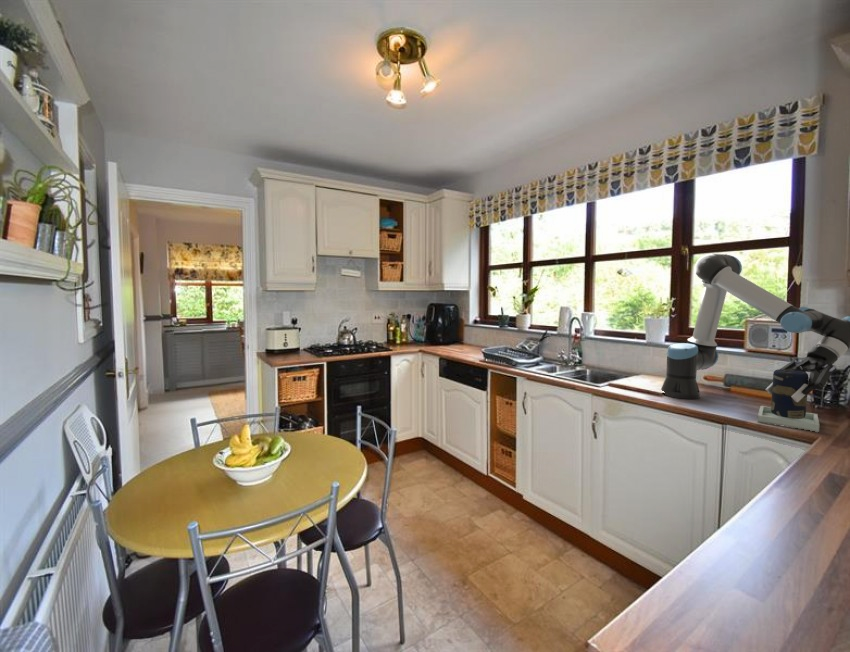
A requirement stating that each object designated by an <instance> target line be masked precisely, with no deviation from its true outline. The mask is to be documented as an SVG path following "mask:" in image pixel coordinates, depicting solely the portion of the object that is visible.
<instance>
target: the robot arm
mask: <svg viewBox="0 0 850 652" xmlns="http://www.w3.org/2000/svg"><path fill="white" fill-rule="evenodd" d="M742 269H743V265H742V263H741V261H740V260H739V258H738V257H736V256H733V255H731V254H721V253H720V254H718V253H709V254H704V255H703V256H700V258H699V259H697V260H696V263H695V265H694V272H695V274H696V276H697V277H698V278H699V279H700V280H701V284H702V285H703V287H704V288H703V292H702V295H701V300H700V303H699V308H698V311H697V312H698V313H697V315H696V316H697V317H696V321H695V324H694V329H693V333H692V336H691V337H689V338H687V341H686V343H685V342H681V343H674V344H670V345H669V346H668V347H667V352H666V372H665V373H666V374H665V379H664V381H663V383H662V385H661V389H660V391H661V390H662V391H664V392H665V395H664V396H666V395H667V397H669V398H670V397H672V398H675V399H682V400H683V399H685V400H694V399H695V400H696V399H700V397H701V391H700V388H699V385H698V382H697V373H698V372H697V371H700V370H701V371H702V370H707V369H710V368H711V367H713V366H714V365H716V364H717V362H718V360H719V352H718V351H717V347H718V344H717V342H716V341H715V338H716V335H717V331H718V327H719V323H720V319H721V315H722V312H723V309H724V304H725V300H726V297H727V293H729V294H730V295H733V297H736V298H737V299H738V300H741V301H742V302H743V303H745V304H747V305H748V306H750V307H752V308H754V309H755V310H757V311H758V312H760V313H762V314H764V315H765V316H767V317H768V318H769V319H772V320H774V322H777V323H778V324H780V326H781V328H782V329H783V330H784V331H786V332H788V333H792V334H793V333H795V334H797V333H798V334H800V333H801V334H802V333H806V332H812V333H815V334H818V335H820V336H823V337H822V338H821V339H820V340H819V341H817V343H816V344H815V345H814V346H813V347H812V348H811V349H810V350H808V352H807V353H806V357H805V358H803V359H798V357H793V359H792V360H791V361H789V362H788V363H787V364H785V365H784V366H782V367H781V368H780V369H790V368H793V369H796V370H798V371H803V372H806V373H807V372H809V373H810V374H809V376H808V383H807V384H808V385H807V384H804V385H803V386H802V387H801V388H799V389H798V390H797V391H796V392H795V393H794V394H793V395H792V396H791V397H792V398H793V399H794V400H795V402H799V401H800V400H801V399H802V398H803V397H804V396H805V395H807V396H808V395H809V394H810V393H811V392H812V391H814V390H816V389H818V390H823V389H824V387H825V386H826V384H827V382H828V381H829V379H830V377H831V376H832V375H833V373H834V372H836V371H837V368H836V367H835V366H834V365H833V364H835V363H836V362H837V361H838V359H839V358H841V357H842V356H843V355H844V354H845V353H846V352H847V351H849V349H850V316H849V315H848V316H844V317H843V318H841V319H840V318H838V317H834V316H831V315H829V314H826V313H823V312H821V311H818V310H816V309H813V308H810V307H806V306H800V307H799V308H798V307H796V306H794V305H793V304H792V303H789V302H788V301H786V300H784V299H782V298H781V297H779V296H777V295H775V294H774V293H772V292H770V291H769V290H767V289H765V288H763V287H761V286H760V285H758V284H756V283H754V282H752V281H751V280H749V279H747V278H745V277H743V276H742V275H741V274H742ZM790 370H792V369H790ZM772 388H773V380H772V381H771V382H770V384H769V385H768V386H767V387H766V388H765V391H766V392H767V393H768V394H769V395H771V396H772Z"/></svg>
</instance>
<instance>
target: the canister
mask: <svg viewBox="0 0 850 652" xmlns="http://www.w3.org/2000/svg"><path fill="white" fill-rule="evenodd" d="M790 369H792V370H790ZM790 369H781V368H779V369H774V371H773V374H772V381H773V388H772V395H771V404H770V407H771V412H772V413H773V414H775V415H777V416H781V417H785V418H792V419H802V418H804V417H805V415H806V413H807V404H808V395H805V396H804V397H803V398H802V399H801V400H800V401H799V402H795V400H794V399H793V398H792V397H791V396H792V395H793V394H794V393H795V392H796V391H797V390H798V389H799V388H801V387H802V386H803V385H804V384H807V383H808V381H809V374H808V373H807V372H803V371H798V370H796V369H793V368H790ZM807 385H808V384H807Z"/></svg>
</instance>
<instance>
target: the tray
mask: <svg viewBox="0 0 850 652" xmlns="http://www.w3.org/2000/svg"><path fill="white" fill-rule="evenodd" d="M759 407H760V408H759V410H758V413H757V423H760V422H763V423H762V424H765V423H769V424H768V425H771V424H776V425H775V426H777V425H784V426H788V427H787V428H789V427H793V428H792V429H795V428H798V429H797V430H801V429H804V430H803V431H806V430H810V431H809V432H812V431H815V432H814V433H818V432H819V433H820V421H819V417H818V415H819V414H818V413H813V412H812V413H811V412H806V415H805V417H804V418H802V419H792V418H785V417H781V416H777V415H775V414H773V413H772V412H771V406H766V405H760V406H759Z"/></svg>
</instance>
